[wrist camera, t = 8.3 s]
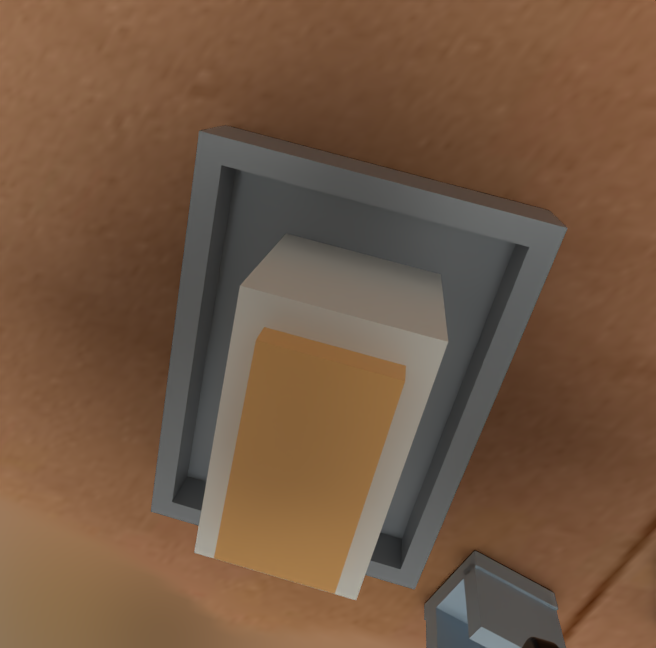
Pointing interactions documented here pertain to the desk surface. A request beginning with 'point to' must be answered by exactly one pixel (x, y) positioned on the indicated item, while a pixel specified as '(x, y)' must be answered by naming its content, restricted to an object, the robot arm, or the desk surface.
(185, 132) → the desk surface
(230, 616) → the desk surface
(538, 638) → the robot arm
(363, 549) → the white orange block
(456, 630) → the clip
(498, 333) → the grey rectangular tray
